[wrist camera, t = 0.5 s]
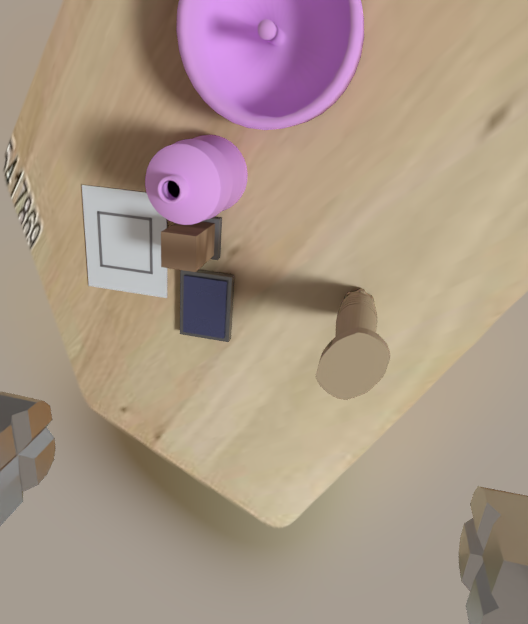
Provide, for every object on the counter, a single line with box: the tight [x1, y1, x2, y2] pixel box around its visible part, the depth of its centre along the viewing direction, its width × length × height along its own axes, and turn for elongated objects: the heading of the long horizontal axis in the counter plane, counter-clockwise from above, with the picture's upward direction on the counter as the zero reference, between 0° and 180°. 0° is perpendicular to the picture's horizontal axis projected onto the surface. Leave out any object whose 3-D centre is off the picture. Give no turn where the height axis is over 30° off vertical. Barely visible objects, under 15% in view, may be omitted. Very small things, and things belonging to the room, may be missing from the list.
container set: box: [145, 0, 364, 225], centre depth 42 cm, size 25×15×13 cm, turn 152°
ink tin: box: [180, 270, 234, 342], centre depth 57 cm, size 8×6×1 cm
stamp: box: [161, 217, 222, 272], centre depth 51 cm, size 4×4×7 cm
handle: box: [316, 289, 390, 400], centre depth 47 cm, size 5×6×15 cm
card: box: [82, 185, 167, 298], centre depth 56 cm, size 12×10×1 cm
